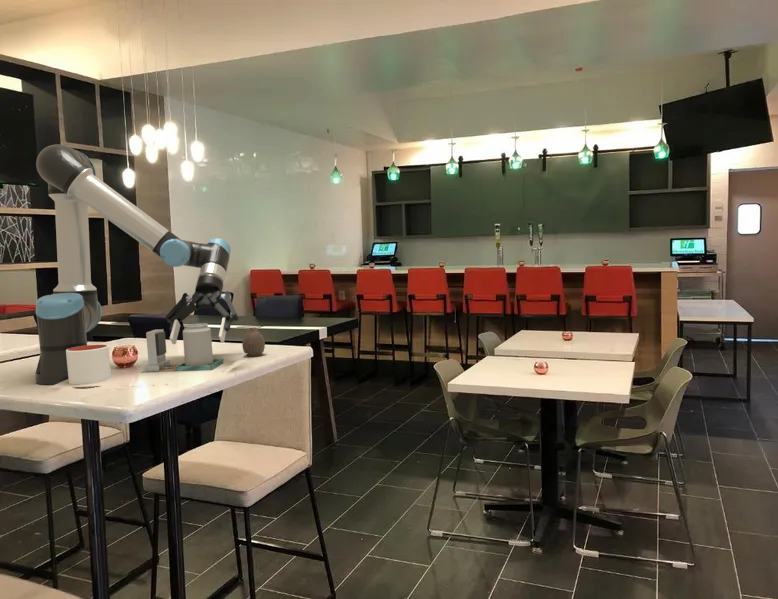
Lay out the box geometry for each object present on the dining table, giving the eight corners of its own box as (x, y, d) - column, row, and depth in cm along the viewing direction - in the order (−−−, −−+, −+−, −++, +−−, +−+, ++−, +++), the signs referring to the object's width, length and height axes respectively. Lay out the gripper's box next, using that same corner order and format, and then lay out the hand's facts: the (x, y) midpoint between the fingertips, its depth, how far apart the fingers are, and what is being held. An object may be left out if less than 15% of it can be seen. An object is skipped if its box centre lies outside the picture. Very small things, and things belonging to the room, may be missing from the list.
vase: (258, 357, 194) (257, 329, 193) (239, 357, 196) (237, 329, 195) (269, 353, 200) (267, 326, 200) (249, 353, 202) (248, 326, 202)
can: (180, 368, 174) (176, 325, 173) (204, 363, 180) (200, 321, 179) (194, 370, 169) (191, 326, 168) (218, 365, 175) (215, 323, 174)
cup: (81, 391, 157) (77, 352, 156) (62, 387, 163) (58, 349, 162) (119, 383, 165) (115, 345, 164) (99, 379, 171) (96, 343, 170)
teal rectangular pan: (140, 378, 170) (139, 368, 170) (155, 370, 180) (154, 361, 180) (212, 375, 169) (211, 365, 169) (223, 367, 179) (223, 358, 179)
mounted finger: (144, 371, 171) (141, 333, 170) (156, 366, 179) (153, 329, 178) (159, 371, 171) (156, 332, 170) (170, 365, 179) (167, 328, 178)
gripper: (255, 288, 188) (245, 346, 175) (173, 292, 189) (157, 350, 176) (249, 271, 182) (238, 330, 169) (165, 275, 183) (147, 334, 170)
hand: (196, 340), depth 172 cm, fingers open, 13 cm apart
